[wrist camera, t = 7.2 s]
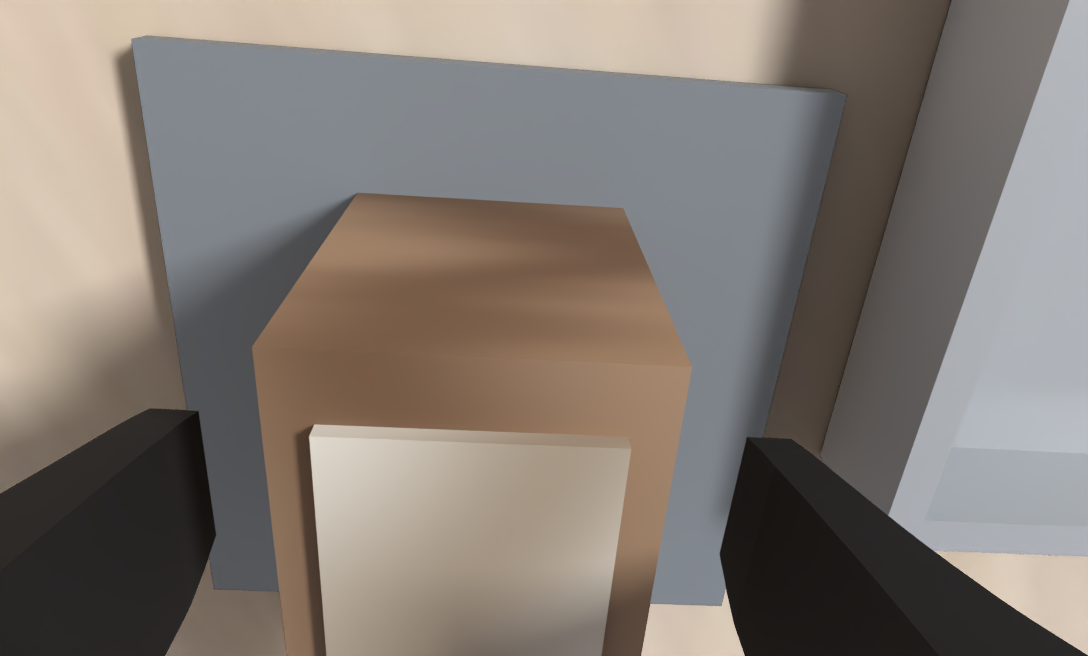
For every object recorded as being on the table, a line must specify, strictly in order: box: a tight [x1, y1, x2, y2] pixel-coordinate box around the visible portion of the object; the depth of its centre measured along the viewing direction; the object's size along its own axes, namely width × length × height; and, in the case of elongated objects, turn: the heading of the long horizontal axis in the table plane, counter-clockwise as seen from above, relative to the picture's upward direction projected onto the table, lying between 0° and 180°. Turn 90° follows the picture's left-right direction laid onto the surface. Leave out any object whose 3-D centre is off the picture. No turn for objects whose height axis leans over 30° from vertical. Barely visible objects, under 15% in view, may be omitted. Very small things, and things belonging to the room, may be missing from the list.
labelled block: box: [252, 193, 692, 656], centre depth 10 cm, size 4×6×5 cm, turn 176°
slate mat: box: [131, 36, 847, 606], centre depth 13 cm, size 10×10×1 cm
